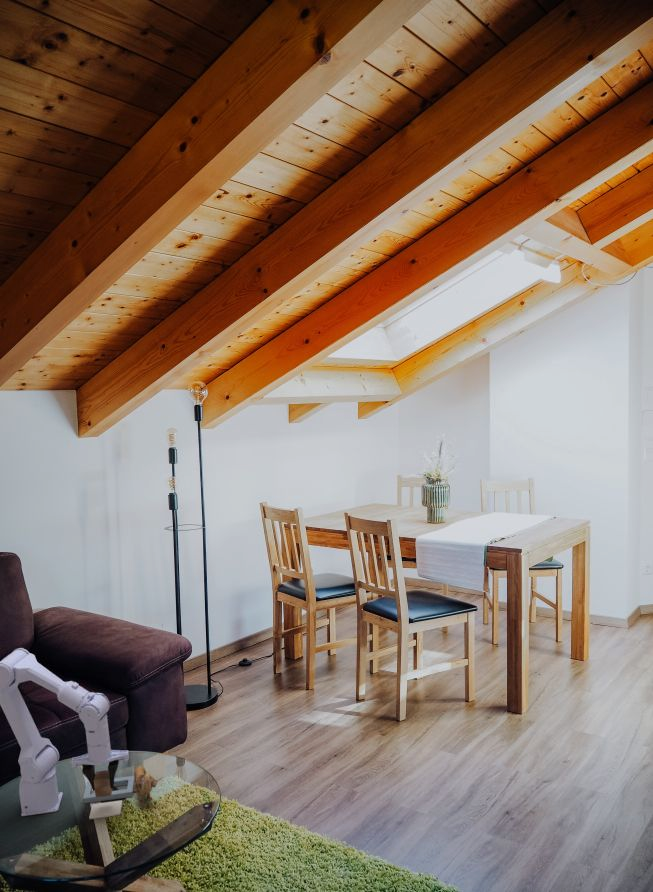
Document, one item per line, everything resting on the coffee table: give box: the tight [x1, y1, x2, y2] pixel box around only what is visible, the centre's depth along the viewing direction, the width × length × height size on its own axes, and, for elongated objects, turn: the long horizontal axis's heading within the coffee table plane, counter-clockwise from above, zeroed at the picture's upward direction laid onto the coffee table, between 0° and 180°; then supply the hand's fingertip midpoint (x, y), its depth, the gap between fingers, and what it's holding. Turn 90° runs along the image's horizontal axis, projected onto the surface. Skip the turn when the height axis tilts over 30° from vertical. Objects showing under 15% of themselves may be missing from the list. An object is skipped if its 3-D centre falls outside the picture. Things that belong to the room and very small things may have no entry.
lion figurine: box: [133, 765, 159, 806], centre depth 211 cm, size 15×5×9 cm, turn 32°
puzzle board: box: [82, 775, 135, 804], centre depth 213 cm, size 13×8×2 cm, turn 98°
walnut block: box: [94, 769, 113, 797], centre depth 204 cm, size 4×4×5 cm
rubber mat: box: [89, 799, 123, 820], centre depth 206 cm, size 8×6×1 cm
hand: (103, 787), depth 204 cm, fingers closed on walnut block, 4 cm apart
